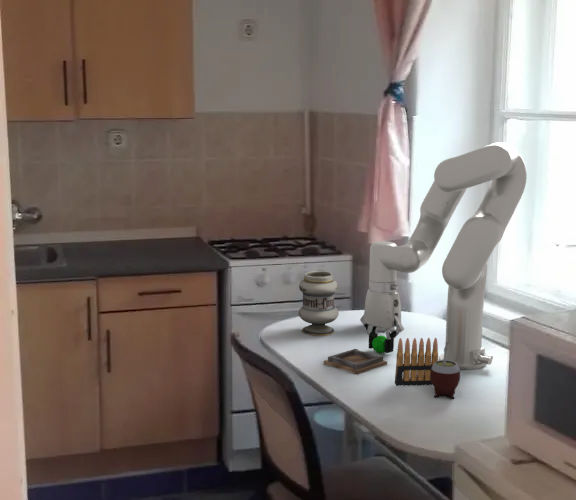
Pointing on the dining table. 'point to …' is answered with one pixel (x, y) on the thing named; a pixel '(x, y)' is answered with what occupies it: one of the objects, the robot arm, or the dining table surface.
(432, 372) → the mate gourd
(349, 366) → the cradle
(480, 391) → the dining table surface
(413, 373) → the ammunition clip
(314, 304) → the apothecary jar
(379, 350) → the polyhedron
